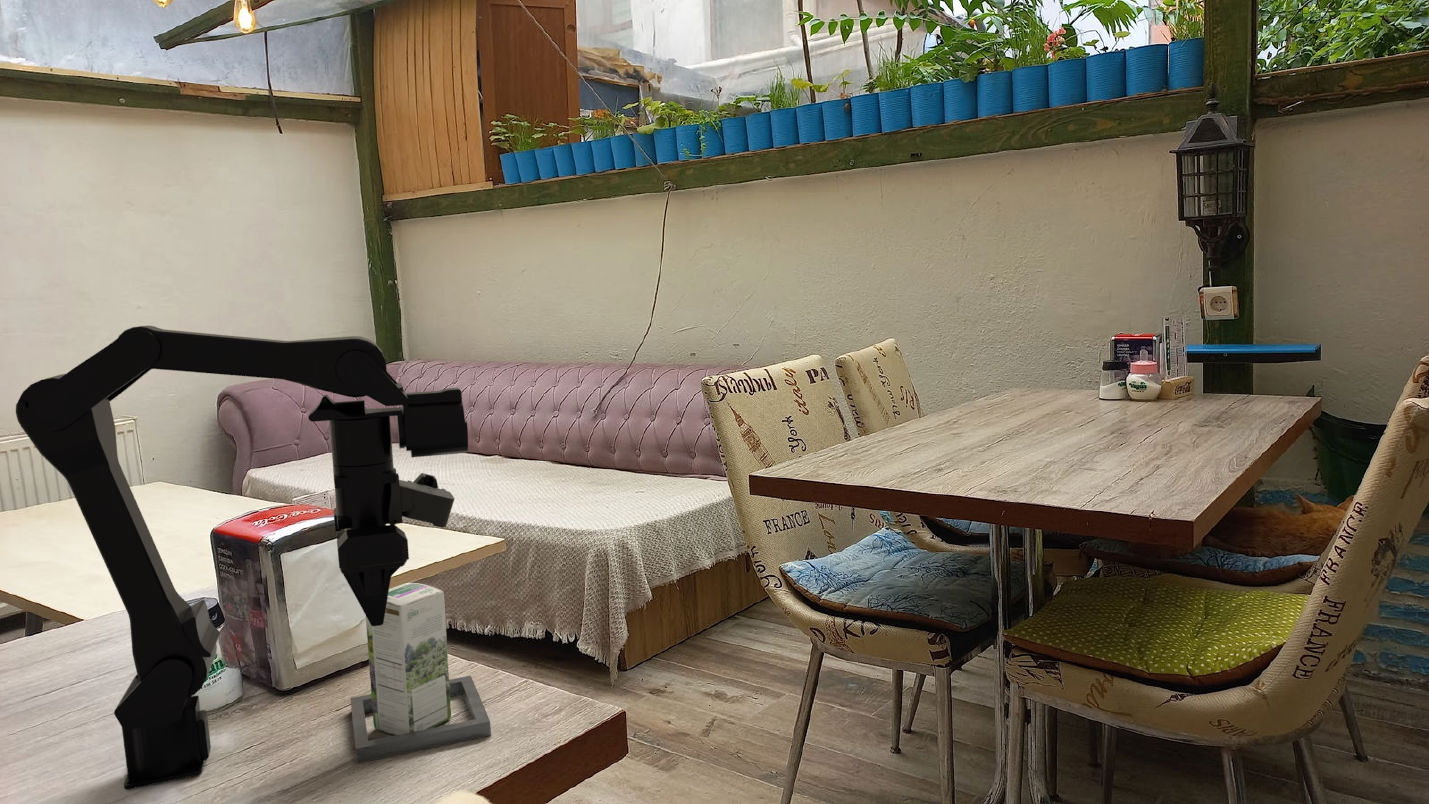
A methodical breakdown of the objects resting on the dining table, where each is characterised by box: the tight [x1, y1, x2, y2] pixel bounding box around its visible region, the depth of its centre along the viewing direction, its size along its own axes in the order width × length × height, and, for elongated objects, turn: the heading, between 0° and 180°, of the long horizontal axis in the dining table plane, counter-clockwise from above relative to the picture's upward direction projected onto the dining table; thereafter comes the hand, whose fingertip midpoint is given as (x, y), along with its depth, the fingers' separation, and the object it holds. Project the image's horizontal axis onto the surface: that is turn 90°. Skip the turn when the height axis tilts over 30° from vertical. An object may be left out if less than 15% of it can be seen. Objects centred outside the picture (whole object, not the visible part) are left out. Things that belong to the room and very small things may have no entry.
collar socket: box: [350, 675, 492, 764], centre depth 102 cm, size 13×13×2 cm
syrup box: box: [365, 582, 452, 736], centre depth 101 cm, size 6×6×14 cm
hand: (374, 611), depth 99 cm, fingers open, 9 cm apart
